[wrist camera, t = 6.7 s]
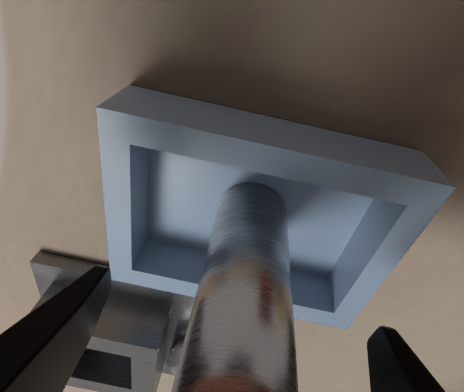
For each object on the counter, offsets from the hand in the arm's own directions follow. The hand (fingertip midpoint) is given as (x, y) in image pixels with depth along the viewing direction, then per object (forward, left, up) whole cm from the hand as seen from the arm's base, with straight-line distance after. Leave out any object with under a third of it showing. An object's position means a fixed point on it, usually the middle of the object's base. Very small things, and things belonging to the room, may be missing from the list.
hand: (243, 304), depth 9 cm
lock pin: (0, 0, -5) cm, 5 cm away
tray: (0, 0, -5) cm, 5 cm away
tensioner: (+4, +11, -5) cm, 13 cm away
